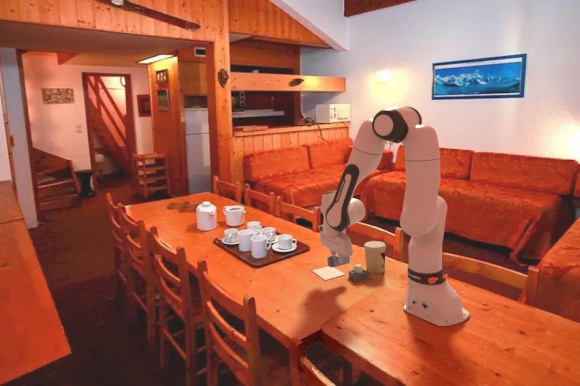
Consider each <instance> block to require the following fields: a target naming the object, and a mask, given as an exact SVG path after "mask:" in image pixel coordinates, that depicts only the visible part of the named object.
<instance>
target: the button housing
mask: <svg viewBox="0 0 580 386" xmlns="http://www.w3.org/2000/svg"><path fill="white" fill-rule="evenodd" d="M369 273H370V272H368V271H367V270H365V269H364V268H363V273H361V274H355V273H354V268H353V269H350V270H348V278H349V279H351V280H352V281H354V282H355V283H359V282H362V281H366V280H367V281H368V280H369V278H370V274H369Z"/></svg>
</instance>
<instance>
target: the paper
mask: <svg viewBox="0 0 580 386" xmlns="http://www.w3.org/2000/svg"><path fill="white" fill-rule="evenodd" d="M311 271H312V273H314V274H315V275H317V276H318V277H319V278H321V279H323V280H324V281H328V280H332V279H336V278H339V277H342V276H346V273H344V272H343V271H341V270H339V269H338V268H337V267H332V268H331V267H329V266H328V265H327V266H325V267H324V266H323V267H321V268H317V269H313V270H311Z"/></svg>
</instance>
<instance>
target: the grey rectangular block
mask: <svg viewBox="0 0 580 386" xmlns="http://www.w3.org/2000/svg"><path fill="white" fill-rule="evenodd" d="M338 256H339V255H338V253H336V255H333V256H332V255H331V256H328V257H327V258H326V259H327V267H328V266H329V267H331V268H332V267H334V268H337V267H340V266H343V265H344V266H345V265H347V264H350V263H351V259H350V256H347V257H344V256H343V262H342V263H339V262H337V258H338Z"/></svg>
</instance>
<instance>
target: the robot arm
mask: <svg viewBox="0 0 580 386" xmlns="http://www.w3.org/2000/svg"><path fill="white" fill-rule="evenodd" d="M422 123H423V118H422V115H421V113H420V112H419V110H418V109H416V108H414V107H412V106H392V107H387V108H383V109H381V110H380V111H378V112H377V113H376V114H375V115H374V116H373V118H369V119H366V120H364V121H363V122H362V123H361V124H360V125H359V129H358V131H357V134H356V135H355V139H354V142H353V144H352V145H353V146H352V150H351V152H350V156H349V158H348V161H347V163H346V166H345V168H344V170H343V172H342V174H341V177H340V179H339V182H338V185H337V187H336V189H333V190H329V191H326V192H324V193H323V194H322V195H321V211H322V212H321V213H322V216H323V221H322V223H323V224H320V225H318V231H319V239H320V243H321V245H322V246H323V247H324V248H327V249H329V252H330V255H331V256H333V255H337V254H338V255H339V256H338V258H337V262H339V263H342V262H343V256H344V257H347V256H349V257H350V256H352V255H353V254H354V253H353V251H354V249H353V244H352V239H351V238H350V237H349V235H348V234H347V233H346V232H347V231H346V229H347V228H349V227H351V226H353V225H354V224H356V223H358V222H361V221H362V220H363V219H364V218H365V217H366V212H367V210H366V206H365V203H364V202H362V201H363V200H360V199H358V198H354V194H355V191H356V189H357V187H358V185H359V184H360V183H361V182H362V181H363V180H364V179H365V178H367V177H369V176H371V174H372V173H374V172H375V171H376V170H377V168H378V167H379V165H380V163H381V161H382V157H383V154H384V150H385V147H386V144H387V142H390V143H393V144H400V143H401V144H402V145H403V147H404V156H405V157H404V158H405V159H404V161H405V189H404V190H405V191H404V196H403V204H402V205H403V206H402V211H401V214H400V218H399V225H400V228H401V230H402V231H403V232H404V233H405V234H406V235H408V236H410V240H409V243H408V265H407V270H406V271H407V272H406V273H407V279H408V283H407V286H406V293H405V294H406V295H405V301H404V306H403V311H404V310H405V312H406V311H407V313H408V314H411V315H413V316H415V317H417V318H420V319H422V320H425V321H426V322H429V323H431V324H433V325H436V326H438V327H449V326H453V325H456V324H457V325H458V324H460V323H463V322H465V321H466V320H468V319H469V317H470V315H471V314H470V311H468V310H467V309H466V308H464V307H463V305H462V299H461V297H460V295H459V294H458V291H457V290H456V289H454V288H453V287H452V286H451V284H450V283H449V282H448V281H447V277H449V276H448V275H449V273H445V272H444V271H445V269H444V268H443V263H442V261H443V259H442V257H443V241H444V235H445V229H446V227H445V226H446V221H447V220H446V219H447V212H448V204H447V201H446V200H445V199H444V198H443V197H442V196H440V195H439V189H440V185H441V179H442V178H441V153H440V152H441V151H440V144H439V138H438V134H437V131H436V129H435V127H433V126H431V125H428V124H427V125H426V124H422Z"/></svg>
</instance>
